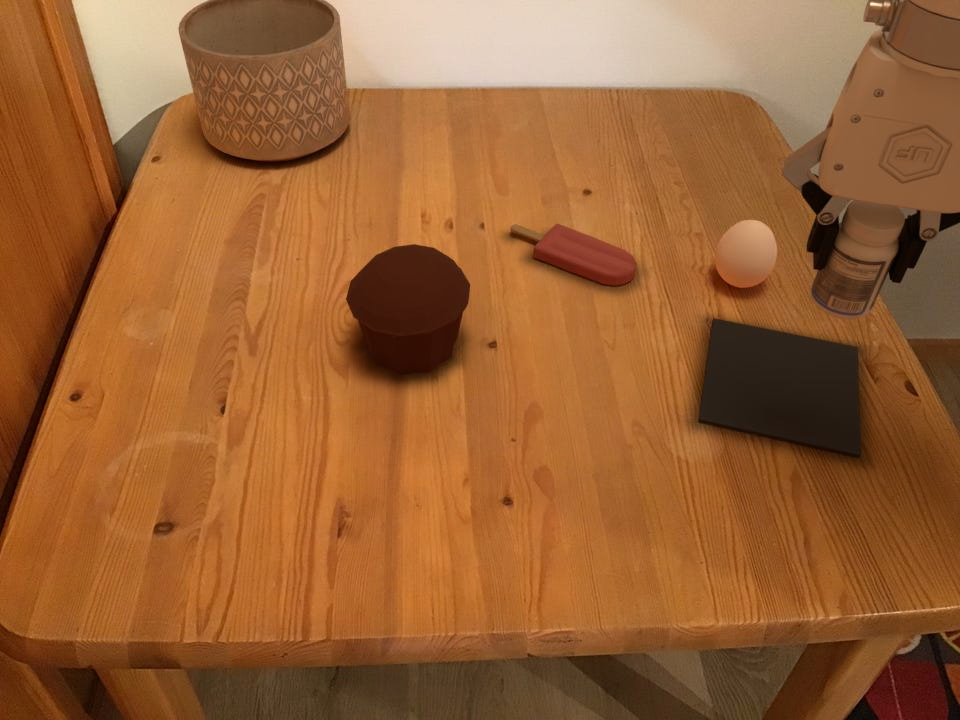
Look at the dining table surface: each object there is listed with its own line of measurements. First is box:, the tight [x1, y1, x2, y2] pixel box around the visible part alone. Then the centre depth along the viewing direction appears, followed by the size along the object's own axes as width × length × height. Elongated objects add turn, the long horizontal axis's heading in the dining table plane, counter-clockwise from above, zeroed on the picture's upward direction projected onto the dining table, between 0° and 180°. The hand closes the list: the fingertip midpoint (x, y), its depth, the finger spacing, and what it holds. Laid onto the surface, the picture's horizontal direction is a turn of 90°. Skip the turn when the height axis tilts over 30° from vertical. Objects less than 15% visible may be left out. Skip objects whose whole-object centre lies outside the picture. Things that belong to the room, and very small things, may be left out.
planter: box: [177, 0, 351, 163], centre depth 105 cm, size 19×19×14 cm
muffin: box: [345, 243, 471, 376], centre depth 79 cm, size 12×11×10 cm
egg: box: [714, 219, 778, 289], centre depth 87 cm, size 6×6×8 cm
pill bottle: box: [809, 200, 906, 320], centre depth 64 cm, size 5×5×8 cm
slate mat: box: [697, 317, 862, 459], centre depth 80 cm, size 14×14×1 cm
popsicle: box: [509, 223, 637, 287], centre depth 92 cm, size 5×2×15 cm
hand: (855, 263), depth 64 cm, fingers closed on pill bottle, 4 cm apart
